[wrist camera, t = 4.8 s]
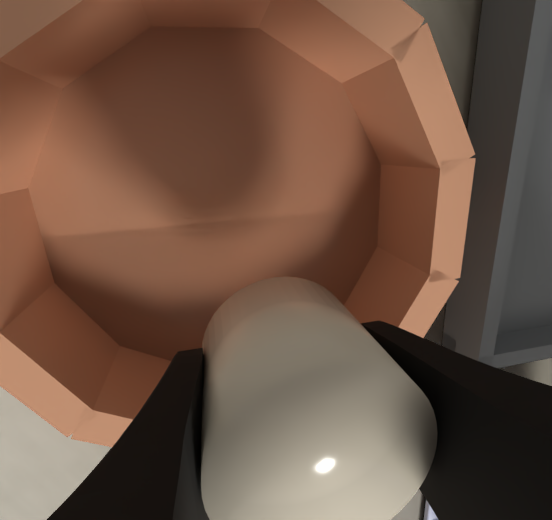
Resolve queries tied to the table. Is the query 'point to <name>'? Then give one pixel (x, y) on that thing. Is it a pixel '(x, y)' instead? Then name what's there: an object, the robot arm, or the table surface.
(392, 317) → the terracotta bowl
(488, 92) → the parts tray
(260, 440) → the beige rounded capsule
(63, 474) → the table surface
